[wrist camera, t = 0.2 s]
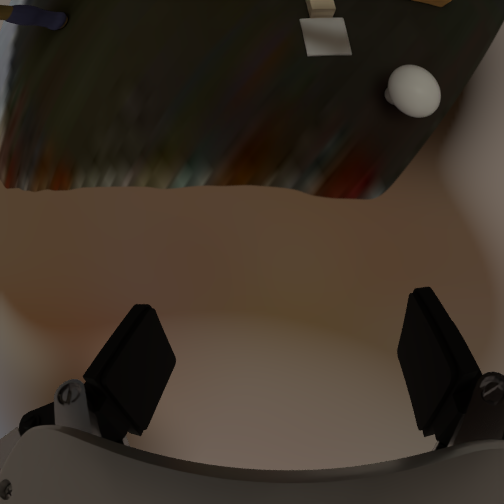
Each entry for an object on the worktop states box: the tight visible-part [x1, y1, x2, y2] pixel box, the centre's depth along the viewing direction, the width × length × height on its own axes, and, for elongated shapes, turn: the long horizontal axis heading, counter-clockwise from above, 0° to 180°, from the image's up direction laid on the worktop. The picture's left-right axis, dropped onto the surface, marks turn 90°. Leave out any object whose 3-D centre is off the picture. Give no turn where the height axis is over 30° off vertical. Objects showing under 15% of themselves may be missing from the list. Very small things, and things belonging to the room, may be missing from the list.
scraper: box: [300, 0, 352, 57], centre depth 24 cm, size 16×6×4 cm, turn 9°
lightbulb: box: [385, 65, 441, 118], centre depth 25 cm, size 6×6×11 cm
